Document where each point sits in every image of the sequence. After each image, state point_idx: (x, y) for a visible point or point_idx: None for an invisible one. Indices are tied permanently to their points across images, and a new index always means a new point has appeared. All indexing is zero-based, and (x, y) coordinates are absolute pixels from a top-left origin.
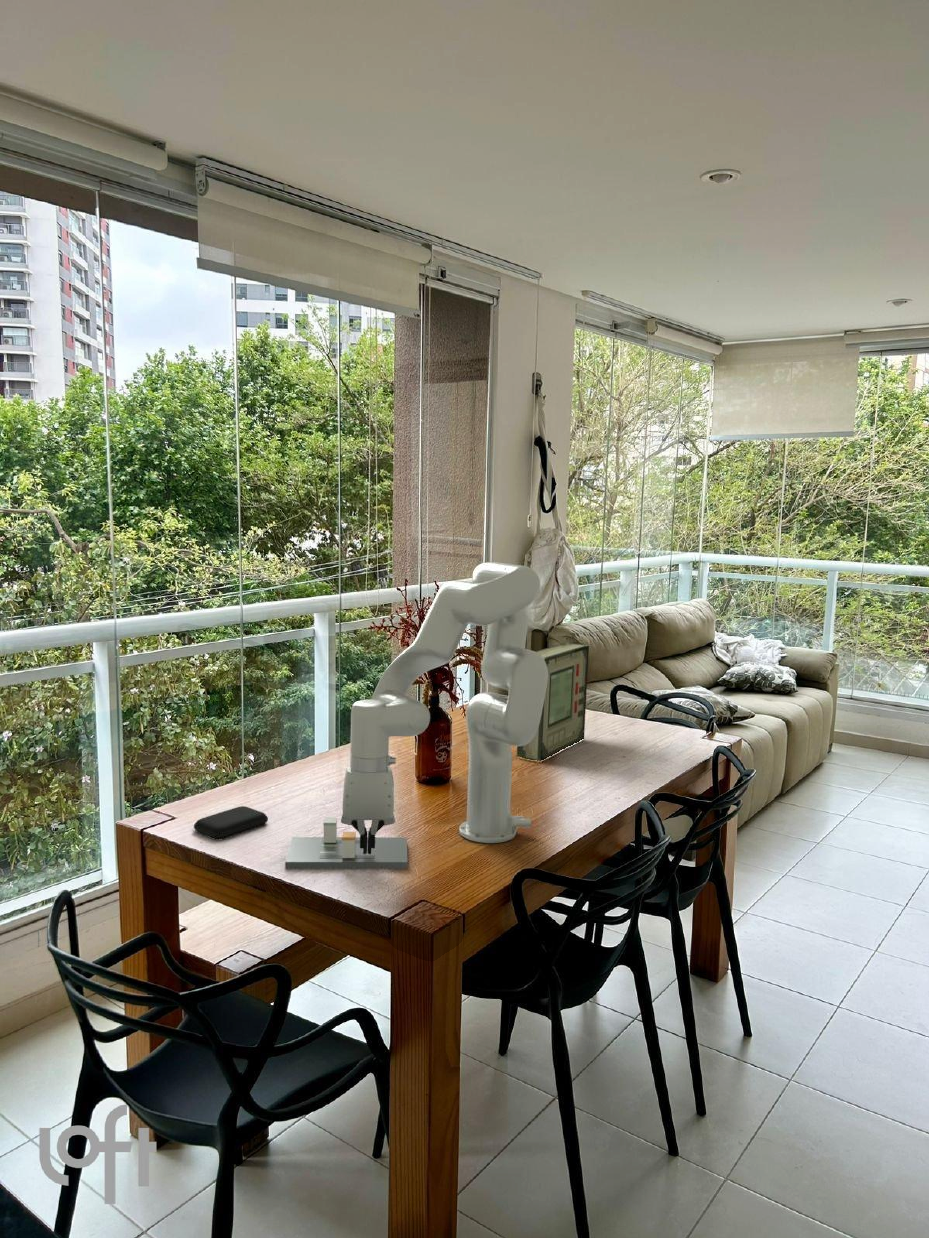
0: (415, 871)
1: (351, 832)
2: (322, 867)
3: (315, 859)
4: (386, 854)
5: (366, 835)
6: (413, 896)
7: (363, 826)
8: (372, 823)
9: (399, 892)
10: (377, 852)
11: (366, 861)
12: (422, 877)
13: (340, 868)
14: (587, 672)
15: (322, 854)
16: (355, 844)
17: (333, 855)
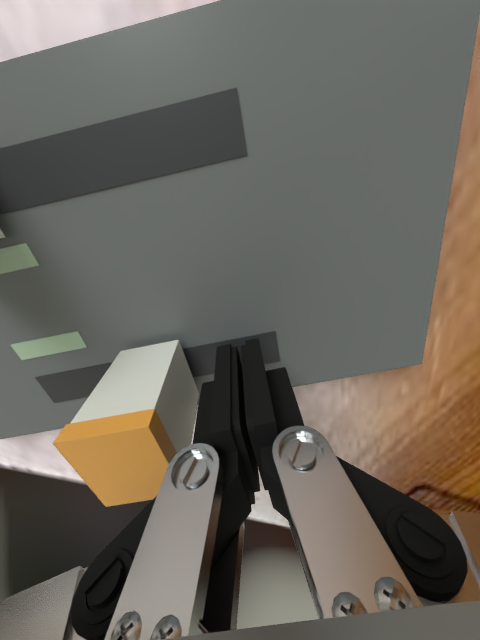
0: (430, 355)
1: (123, 443)
2: None
3: (46, 410)
4: (329, 309)
5: (254, 490)
6: (399, 478)
7: (235, 587)
8: (322, 618)
9: (365, 469)
10: (281, 294)
11: None
12: (445, 390)
13: None
14: None
15: (40, 368)
16: (170, 364)
17: (93, 369)
